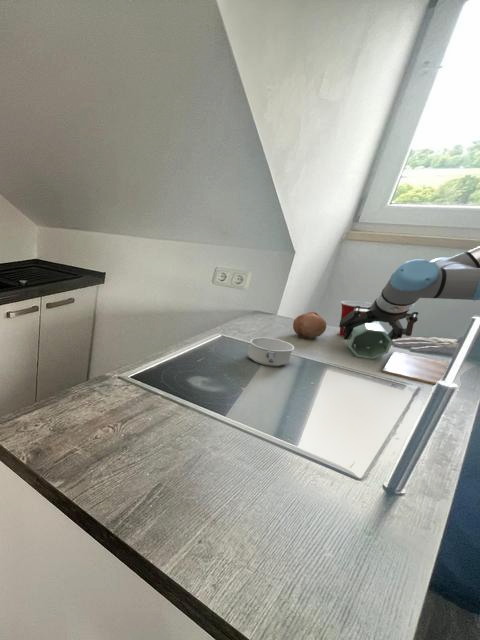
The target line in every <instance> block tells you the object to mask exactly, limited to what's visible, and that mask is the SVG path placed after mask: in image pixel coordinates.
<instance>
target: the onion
mask: <svg viewBox="0 0 480 640" xmlns="http://www.w3.org/2000/svg"><path fill="white" fill-rule="evenodd" d="M292 330H293V331H294V333H295V334H296V335H297V336H298V337H300V338H302V339H305V340H306V339H317V338H318V337H321V336H322V334H324V333H325V332H326V330H327V322H326V320H325V318H323V317H322V316H320V315H319V314H318V313H317V312H315V311H309V312H307V313H303V314H300V315H298V316H296V318H294V320H293V323H292Z"/></svg>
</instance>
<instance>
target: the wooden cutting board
mask: <svg viewBox="0 0 480 640" xmlns="http://www.w3.org/2000/svg"><path fill="white" fill-rule="evenodd" d="M449 365H450V363H449V362H445V361H441V360H436V359H431V358H427V357H421V356H418V355H412V354H406V353H402V352H397V351H393V353H392V354H391V356H390V357H389V359H388V361H387V362H386V363H385V365H384V367H382V370H381V373H385V374H388V375H394V376H397V377H402V378H405V379H410V380H415V381H418V382H423V383H427V384H431V385H435V386H437V385H436V383H437V381H439V380H440V379H442V377H443V375H444V373H445V371H446V369H447V370H448V368H449ZM447 367H448V368H447ZM446 372H447V371H446Z"/></svg>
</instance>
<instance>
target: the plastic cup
mask: <svg viewBox="0 0 480 640" xmlns="http://www.w3.org/2000/svg"><path fill="white" fill-rule="evenodd" d="M372 304H373V303H370V302H366V301H357V300H355V301H354V300H342V301H340V305H341V315H340V320H341V319H342V318H344V317H345V316H346V315H348V314H349V313H350V312H352V311H353V310H354V309H355V306H360V309H367V308H369V307H371V306H372ZM364 314H366V313H364ZM364 314H362V315H364ZM362 315H361V316H362ZM358 317H359V316H358ZM343 329H344V327H342V328H341V327H339V335H340V336H342V337H344V335H345V333H344V332H343Z"/></svg>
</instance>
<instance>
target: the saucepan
mask: <svg viewBox="0 0 480 640" xmlns="http://www.w3.org/2000/svg"><path fill="white" fill-rule="evenodd" d="M249 342H250V346H249V348H248V353H247V357H248V358H250V359H251V360H252V361H254V362H255V363H257V364H260V365H262V366H268V367H280V366H284V365H287V364H288V363H289V362H290V359H291V355H292V351H294V350H295V346H294V345H293V344H292V343H291V342H288V341H285V340H282V339H278V338H273V337H253V338H251V339H249Z"/></svg>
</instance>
